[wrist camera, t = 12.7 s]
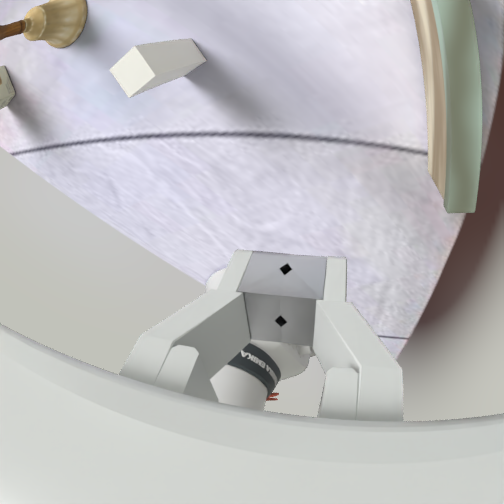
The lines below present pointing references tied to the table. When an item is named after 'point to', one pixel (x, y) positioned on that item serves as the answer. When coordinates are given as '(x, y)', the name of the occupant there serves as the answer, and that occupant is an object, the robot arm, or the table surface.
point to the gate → (451, 98)
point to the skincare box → (5, 88)
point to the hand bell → (51, 23)
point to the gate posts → (156, 64)
